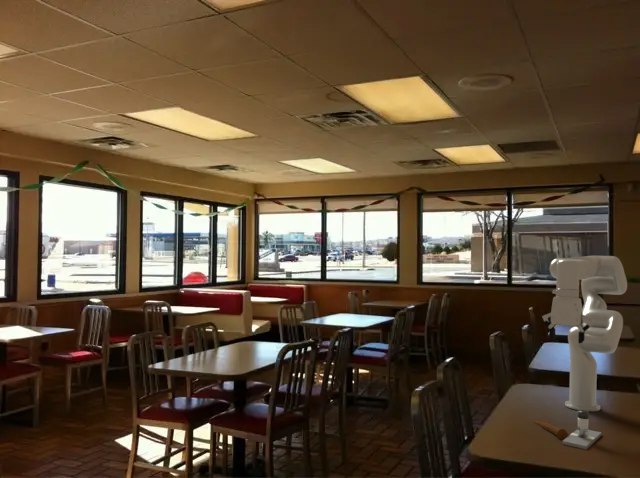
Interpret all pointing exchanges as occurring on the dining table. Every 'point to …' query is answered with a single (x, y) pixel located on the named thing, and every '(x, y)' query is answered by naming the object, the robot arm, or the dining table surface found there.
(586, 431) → the steel peg
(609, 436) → the dining table surface
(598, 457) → the dining table surface
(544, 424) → the primitive tool
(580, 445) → the panel
